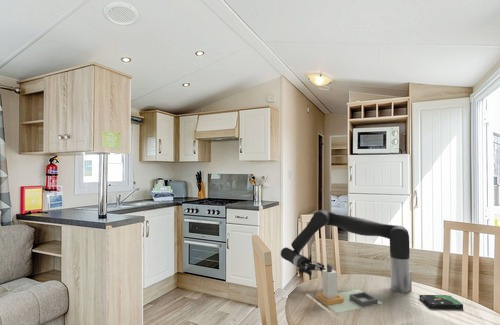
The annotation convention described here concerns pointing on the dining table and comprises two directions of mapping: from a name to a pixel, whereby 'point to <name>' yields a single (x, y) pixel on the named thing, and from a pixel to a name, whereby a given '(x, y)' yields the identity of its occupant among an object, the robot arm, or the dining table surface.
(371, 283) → the dining table surface
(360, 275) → the dining table surface
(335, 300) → the panel
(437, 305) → the disk drive
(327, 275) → the white square bottle
